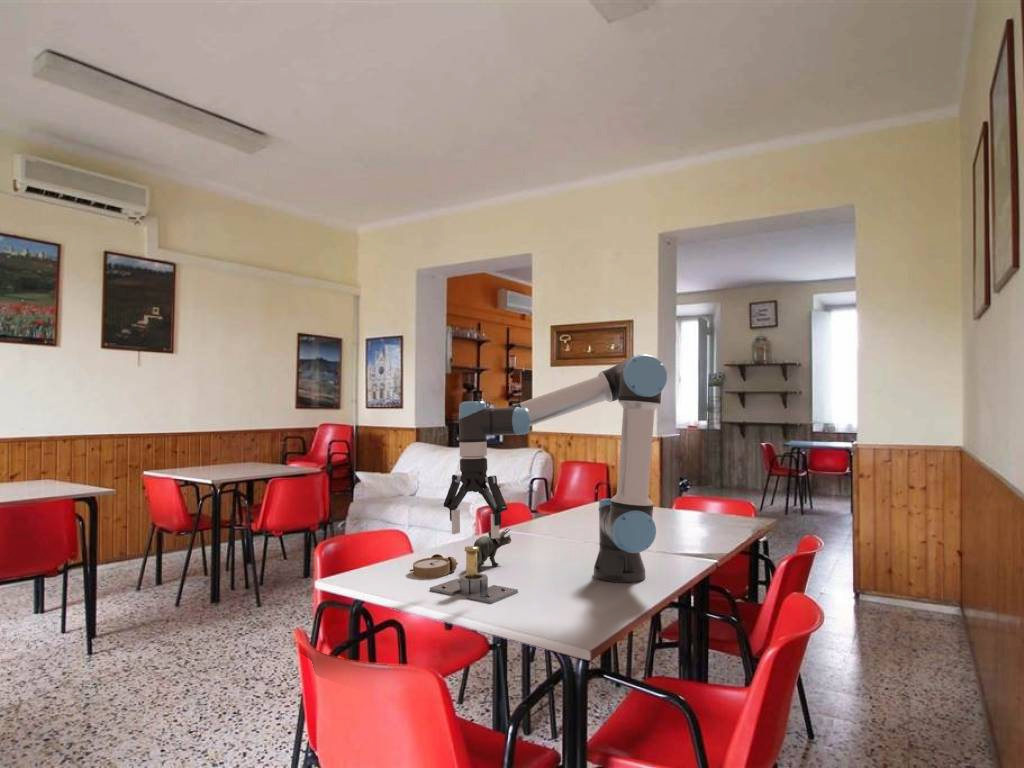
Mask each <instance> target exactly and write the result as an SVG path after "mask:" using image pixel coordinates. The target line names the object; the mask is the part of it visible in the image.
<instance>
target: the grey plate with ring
mask: <svg viewBox="0 0 1024 768" xmlns="http://www.w3.org/2000/svg"><path fill="white" fill-rule="evenodd" d="M488 580H489V579H488V575H487V574H486V573H485V574H484V573H479V572H477V579H468V578H466V573H464V574H462V575H459V577H457V578H455V579H452V580H448V581H446V582H442V583H440V584H436V585H434V586H431V587H429V591H430V592H435V593H440V594H444V595H448V596H449V595H450V596H455V595H457V594H461V595H465V596H466V599H468V600H472V601H477V602H483V603H488V604H493V603H496V602H499V601H501V600H503V599H506V598H508V597H511V596H513V595H516V594H518V593H519V589H517V588H511V587H508V586H507V587H506V586H501V585H496V584H495V585H494V584H493V585H491V586H488V585H489V581H488Z"/></svg>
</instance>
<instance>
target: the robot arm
mask: <svg viewBox="0 0 1024 768" xmlns="http://www.w3.org/2000/svg"><path fill="white" fill-rule="evenodd" d="M667 381H668V371H667V369H666V367H665V365H664V364H663V362H662V361H661V360H660V359H659V358H657V357H655V356H653V355H649V354H636V355H633V356H631V357H630V358H627V359H625V360H623V361H621V362H620V363H617V364H616V365H613V366H612V367H610V368H608V369H604V370H601V371H600V372H599V373H598V374H597V376H594V377H592V378H588V379H586V380H583V381H579V382H577V383H575V384H571V385H569V386H565V387H563V388H560V389H557V390H554V391H551V392H548V393H546V394H545V393H544V394H542V395H539V396H537V397H533V398H530V399H527V400H525V401H522V402H519V403H515V404H513V405H510V406H507V407H495V408H493V407H490V408H489V407H487V403H486V402H485V401H483V400H482V401H475V400H474V401H473V400H472V401H463V402H460V403H459V407H458V429H459V430H458V432H459V433H458V434H459V436H458V437H459V457H461V458H460V459H459V471H460V472H461V474H460V473H458V474H457V473H456V474H452V476H451V483H450V486H449V489H448V491H447V494H446V495H445V496H446V497H445V500H444V502H443V507H444V508H447V509H448V510H449V521H450V522H451V535H457V534H460V533H461V517H460V514H461V513H460V508H459V505H461V502H462V501H463V500H464V498H465V497H466V495H467V494H468V493H470V492H473V493H479V494H480V495H481V496H482V498H483V499H484V501H485V502H486V505H488V507H489V509H490V510H491V511H492V512H491V513H490V531H491V538H492V539H494V538H498V537H499V534H500V526H501V525H502V513H503V512H505V511H507V510H508V506H507V503H506V500H505V499H504V496H503V494H502V491H501V489H500V486H499V485H498V478H497V476H496V475H489V476H488V475H487V471H488V458H487V457H486V456H487V455H488V446H487V445H488V443H487V436H514V435H515V436H520V435H528V434H529V432H530V429H531V427H532V426H534V425H537V424H540V423H543V422H546V421H549V420H551V419H555V418H557V417H561V416H564V415H567V414H570V413H573V412H575V411H578V410H581V409H584V408H587V407H590V406H594V405H596V404H599V403H602V402H605V401H607V402H608V403H612V402H615V401H618V404H620V405H621V407H622V418H621V419H622V421H621V423H622V424H621V436H620V449H619V461H618V474H617V475H618V476H617V489H616V494H615V495H614V496H612V498H602V499H600V501H599V502H598V503H599V505H598V520H599V521H598V524H599V525H598V527H599V528H598V530H599V533H598V534H599V535H598V536H599V538H598V539H599V550H598V553H597V556H596V559H595V562H594V563H595V564H594V566H593V576H594V578H596V579H598V580H601V581H605V582H612V583H634V582H635V583H636V582H640V581H643V580H644V579H646V568H645V565H644V561H643V559H642V555H641V552H644V551H646V550H647V549H648V548H650V547H651V546H652V545H653V543H654V542H655V540H656V537H657V526H656V524H655V521H654V519H653V515H654V514H653V513H654V502H653V501H652V500H651V499H650V496H649V491H650V480H651V479H650V476H651V464H652V463H651V462H652V453H653V452H652V448H653V438H654V437H653V435H654V421H655V411H656V410H657V409H658V408H660V406H661V400H662V391H663V390H664V389H665V386H666V385H667ZM461 483H462V484H461ZM487 484H488V485H487ZM460 485H461V486H460Z"/></svg>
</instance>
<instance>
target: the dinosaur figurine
mask: <svg viewBox="0 0 1024 768" xmlns="http://www.w3.org/2000/svg"><path fill="white" fill-rule="evenodd" d="M510 531H511V528H508V527H507V528H506V529H504V530H502V531H501V532H499V537H498V538H494V539H492V538H491V530H489V531H488V536H487V535H482V536H481V537H479V538H477V539H476V540H475V541H474V544H473V546H477V547H479V551H477V572H478V571H479V572H481V573H482V572H483V569H482V565H485V562H486V561H487V560H488V559H489V561H490V563H491V566H492V567H497V566H499V563H498V562H496V559H495V556H496V554H497V551H498V549H500V548H501V547H502V546H503V547H504V546H506V545H510V543H512V538H511V534H508V533H509V532H510ZM507 534H508V535H507Z"/></svg>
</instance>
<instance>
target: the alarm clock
mask: <svg viewBox="0 0 1024 768" xmlns="http://www.w3.org/2000/svg"><path fill="white" fill-rule="evenodd" d="M458 565H459V562H457V559H456V558H455V557H453V556H447V557H444V556H443V555H442V554H438V553H437V554H434V555H432V556H431V557H426V558H421V559H418V560H416V561H414V562H413V563H412V568H411V569H410V570H409V572H412V573H413V576H415V577H417V578H422V579H436V578H441V577H445V576H447V575H449V574H450V573H453V572H455V571H456V569H457V566H458Z"/></svg>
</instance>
